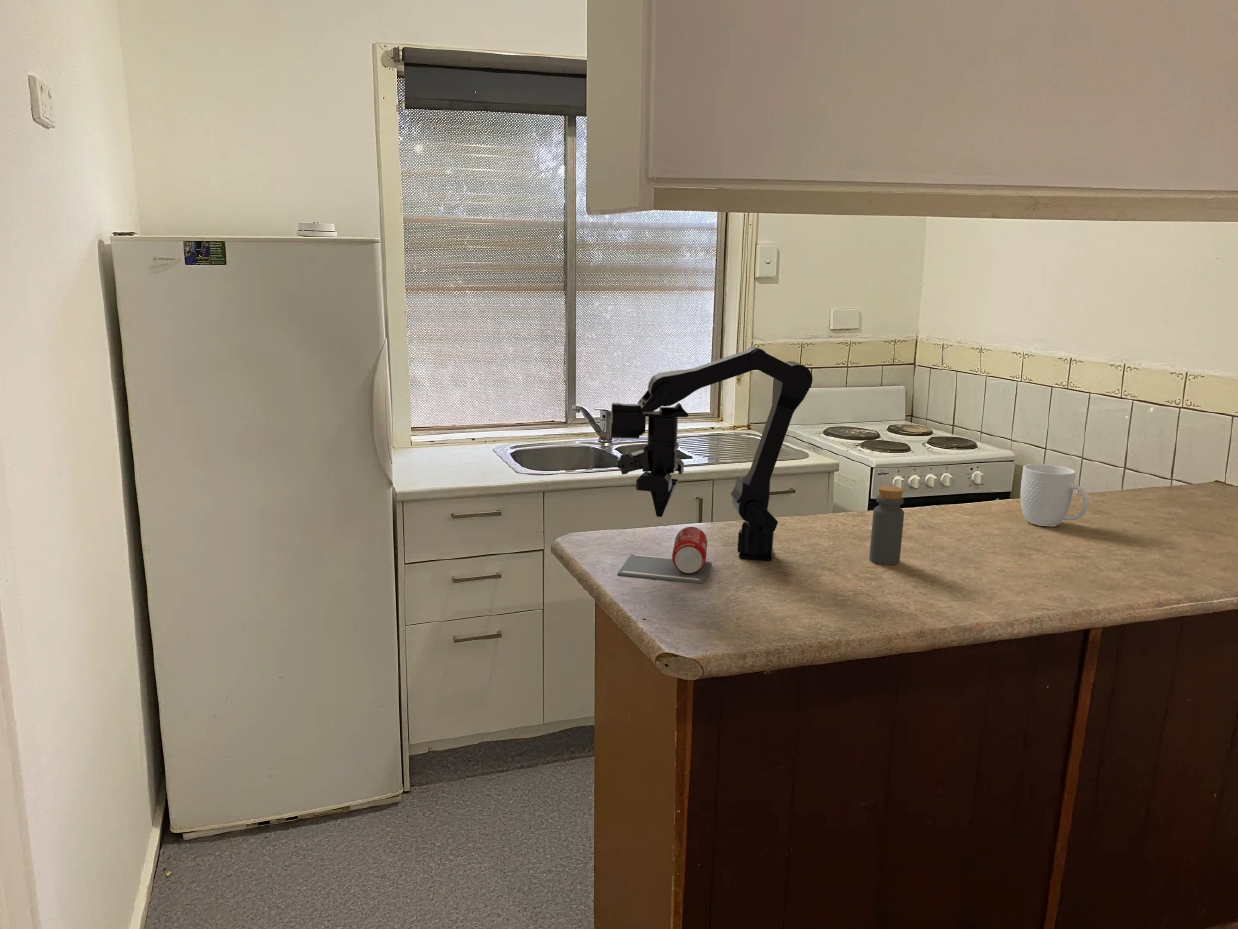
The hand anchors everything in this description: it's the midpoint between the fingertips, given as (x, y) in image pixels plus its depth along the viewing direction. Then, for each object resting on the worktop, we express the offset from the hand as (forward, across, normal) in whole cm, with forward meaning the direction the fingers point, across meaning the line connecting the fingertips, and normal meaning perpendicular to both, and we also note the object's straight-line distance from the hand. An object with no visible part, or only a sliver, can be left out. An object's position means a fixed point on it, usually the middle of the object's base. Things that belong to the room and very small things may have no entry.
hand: (659, 516), depth 185 cm
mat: (+8, +8, +3) cm, 12 cm away
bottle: (+8, -10, +44) cm, 46 cm away
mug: (+8, -50, +82) cm, 96 cm away
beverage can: (+4, 0, +6) cm, 8 cm away
